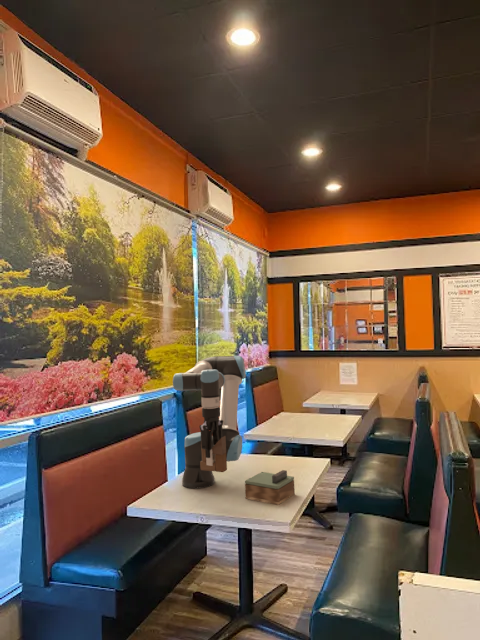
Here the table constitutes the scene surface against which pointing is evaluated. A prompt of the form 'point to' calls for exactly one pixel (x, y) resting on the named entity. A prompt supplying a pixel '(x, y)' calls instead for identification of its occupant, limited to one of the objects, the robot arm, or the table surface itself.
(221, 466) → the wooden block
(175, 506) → the table surface
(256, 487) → the wooden box
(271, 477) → the lid
